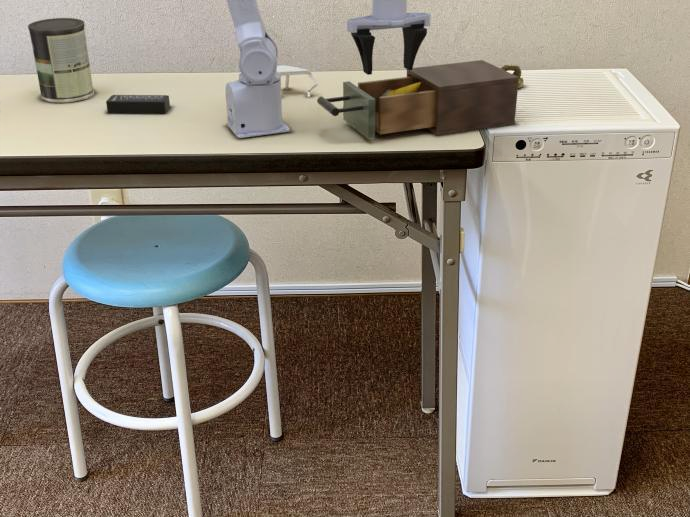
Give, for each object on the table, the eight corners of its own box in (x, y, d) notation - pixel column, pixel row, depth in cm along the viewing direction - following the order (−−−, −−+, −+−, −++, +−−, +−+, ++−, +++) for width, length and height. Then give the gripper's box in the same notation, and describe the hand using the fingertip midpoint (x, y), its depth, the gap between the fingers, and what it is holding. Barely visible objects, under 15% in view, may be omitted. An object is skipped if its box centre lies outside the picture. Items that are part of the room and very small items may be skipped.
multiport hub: (165, 114, 155) (163, 101, 154) (107, 113, 156) (105, 101, 154) (170, 106, 159) (169, 94, 158) (113, 106, 159) (112, 94, 158)
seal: (449, 96, 168) (524, 96, 166) (450, 73, 165) (527, 74, 164) (448, 78, 175) (520, 78, 174) (449, 56, 173) (522, 57, 171)
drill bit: (394, 111, 151) (432, 80, 144) (393, 132, 148) (432, 101, 141) (371, 96, 148) (409, 63, 142) (370, 117, 145) (408, 84, 139)
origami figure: (255, 99, 163) (254, 74, 161) (263, 87, 170) (262, 63, 168) (316, 100, 162) (316, 75, 160) (321, 88, 169) (321, 64, 167)
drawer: (336, 143, 138) (336, 104, 135) (313, 123, 147) (312, 85, 144) (445, 128, 145) (447, 90, 141) (416, 109, 154) (417, 73, 151)
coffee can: (32, 102, 162) (18, 29, 155) (53, 87, 171) (41, 17, 164) (83, 103, 161) (71, 29, 154) (102, 88, 170) (92, 18, 163)
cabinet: (436, 135, 144) (439, 87, 140) (405, 114, 154) (406, 68, 150) (514, 124, 149) (519, 77, 145) (479, 104, 159) (482, 59, 155)
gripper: (358, -3, 132) (358, 81, 139) (440, -10, 137) (436, 72, 143) (342, -11, 138) (342, 70, 144) (421, -17, 143) (418, 62, 149)
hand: (388, 70), depth 144 cm, fingers open, 7 cm apart
